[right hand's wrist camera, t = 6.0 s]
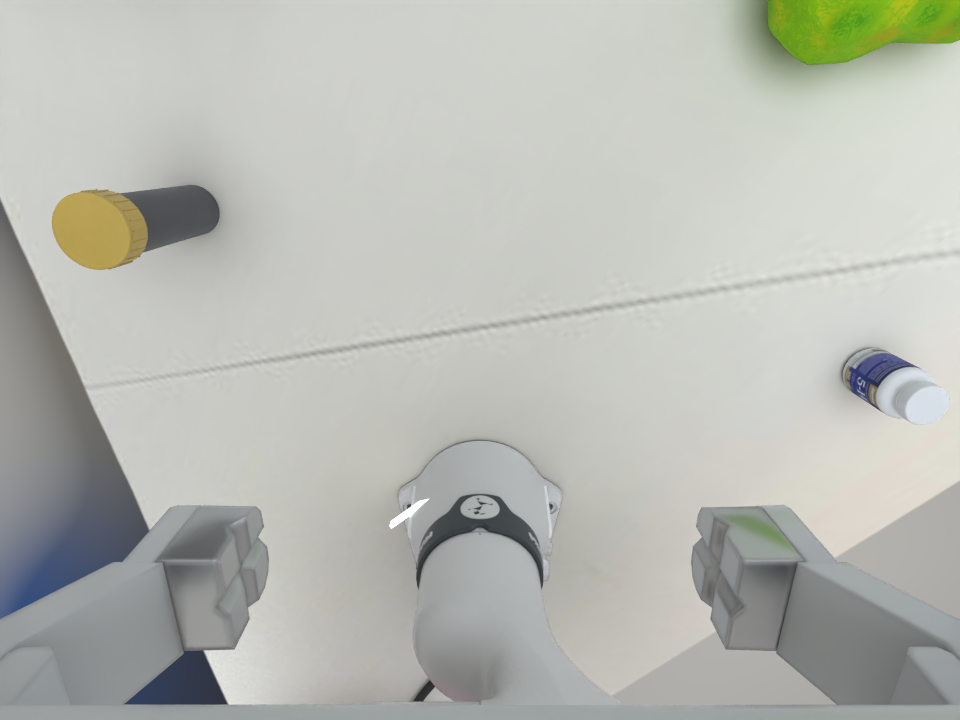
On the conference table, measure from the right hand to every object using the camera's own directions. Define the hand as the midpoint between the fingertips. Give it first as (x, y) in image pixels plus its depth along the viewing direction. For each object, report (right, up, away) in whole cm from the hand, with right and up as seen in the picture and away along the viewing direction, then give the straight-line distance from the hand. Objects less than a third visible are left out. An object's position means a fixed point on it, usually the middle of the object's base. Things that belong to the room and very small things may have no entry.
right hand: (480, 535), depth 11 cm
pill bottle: (+41, +2, +50) cm, 65 cm away
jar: (-28, +18, +45) cm, 55 cm away
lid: (-28, +12, +30) cm, 43 cm away
